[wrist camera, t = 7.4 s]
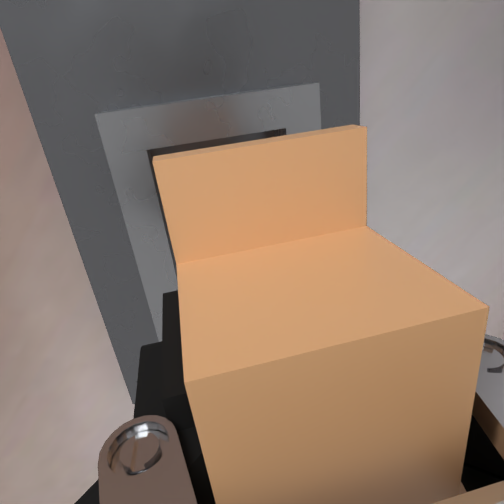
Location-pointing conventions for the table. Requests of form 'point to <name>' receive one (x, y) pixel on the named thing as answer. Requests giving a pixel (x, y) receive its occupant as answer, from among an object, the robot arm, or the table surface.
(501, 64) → the table surface
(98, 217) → the pocket plate
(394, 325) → the tabbed block
